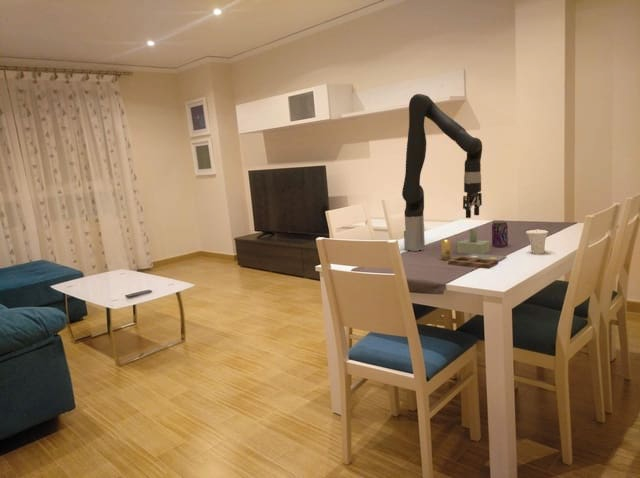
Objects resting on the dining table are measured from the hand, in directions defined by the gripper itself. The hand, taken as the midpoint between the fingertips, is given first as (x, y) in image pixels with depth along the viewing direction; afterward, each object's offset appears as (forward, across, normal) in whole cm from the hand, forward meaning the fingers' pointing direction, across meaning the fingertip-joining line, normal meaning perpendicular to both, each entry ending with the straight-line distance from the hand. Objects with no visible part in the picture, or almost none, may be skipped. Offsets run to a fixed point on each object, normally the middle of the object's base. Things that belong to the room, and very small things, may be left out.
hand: (472, 216), depth 215 cm
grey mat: (+17, +11, +10) cm, 23 cm away
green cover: (+17, 0, 0) cm, 17 cm away
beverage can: (+17, -16, +6) cm, 24 cm away
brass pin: (+17, +19, -4) cm, 26 cm away
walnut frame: (+17, +22, +10) cm, 29 cm away
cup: (+16, -8, +26) cm, 32 cm away
